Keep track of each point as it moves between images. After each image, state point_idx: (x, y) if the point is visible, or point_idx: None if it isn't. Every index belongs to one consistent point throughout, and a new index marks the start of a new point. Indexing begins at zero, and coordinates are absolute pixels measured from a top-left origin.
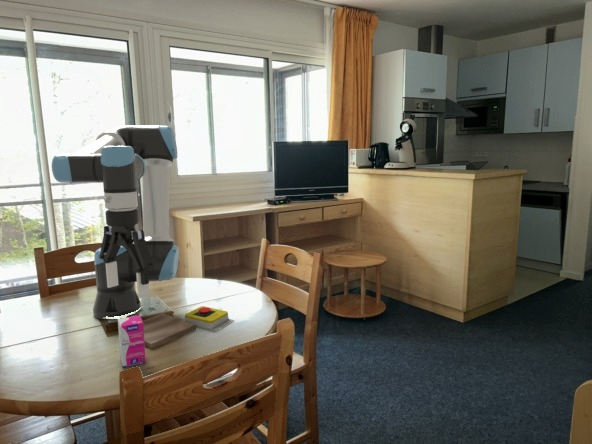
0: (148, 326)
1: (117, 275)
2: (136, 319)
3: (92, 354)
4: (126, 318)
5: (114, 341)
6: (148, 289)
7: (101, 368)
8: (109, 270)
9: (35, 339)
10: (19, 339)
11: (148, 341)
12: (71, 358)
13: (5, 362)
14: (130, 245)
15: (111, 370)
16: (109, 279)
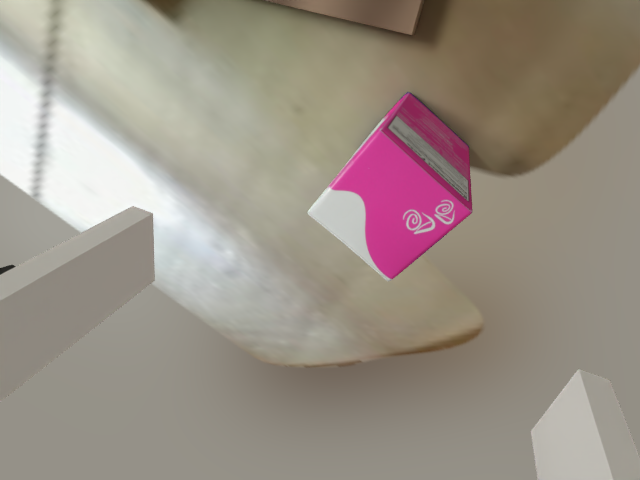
0: None
1: (84, 256)
2: (405, 190)
3: (249, 158)
4: (345, 198)
5: (229, 46)
6: (626, 434)
7: None
8: (32, 362)
9: (38, 140)
10: (12, 156)
11: (383, 18)
12: (219, 198)
13: None
14: None
15: None
16: (105, 309)
